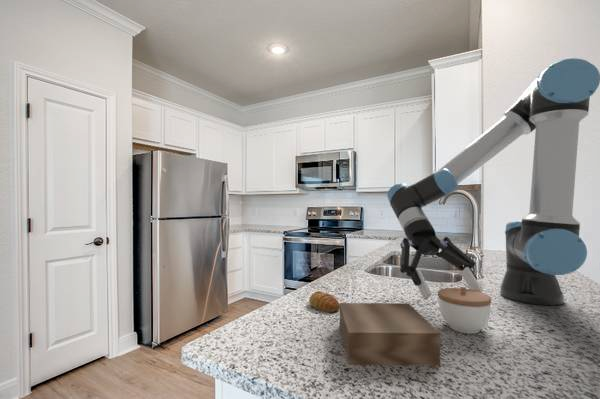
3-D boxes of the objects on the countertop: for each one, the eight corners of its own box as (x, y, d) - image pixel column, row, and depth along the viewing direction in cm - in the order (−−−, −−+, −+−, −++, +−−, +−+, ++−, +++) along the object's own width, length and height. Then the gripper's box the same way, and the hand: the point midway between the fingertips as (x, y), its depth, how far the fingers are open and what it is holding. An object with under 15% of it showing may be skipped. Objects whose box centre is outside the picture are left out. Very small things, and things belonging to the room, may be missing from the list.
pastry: (346, 310, 80) (346, 296, 80) (327, 316, 76) (326, 301, 76) (324, 301, 87) (324, 288, 87) (306, 306, 84) (306, 292, 84)
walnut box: (409, 329, 68) (408, 303, 68) (440, 367, 52) (439, 333, 52) (339, 329, 68) (339, 303, 68) (349, 366, 52) (348, 332, 52)
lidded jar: (501, 340, 61) (500, 295, 61) (445, 336, 63) (444, 292, 63) (480, 320, 72) (479, 282, 72) (433, 317, 74) (432, 280, 74)
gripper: (448, 234, 89) (490, 299, 74) (372, 235, 84) (399, 306, 69) (461, 217, 84) (508, 284, 69) (380, 218, 79) (412, 290, 64)
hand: (453, 295), depth 69 cm, fingers open, 13 cm apart
